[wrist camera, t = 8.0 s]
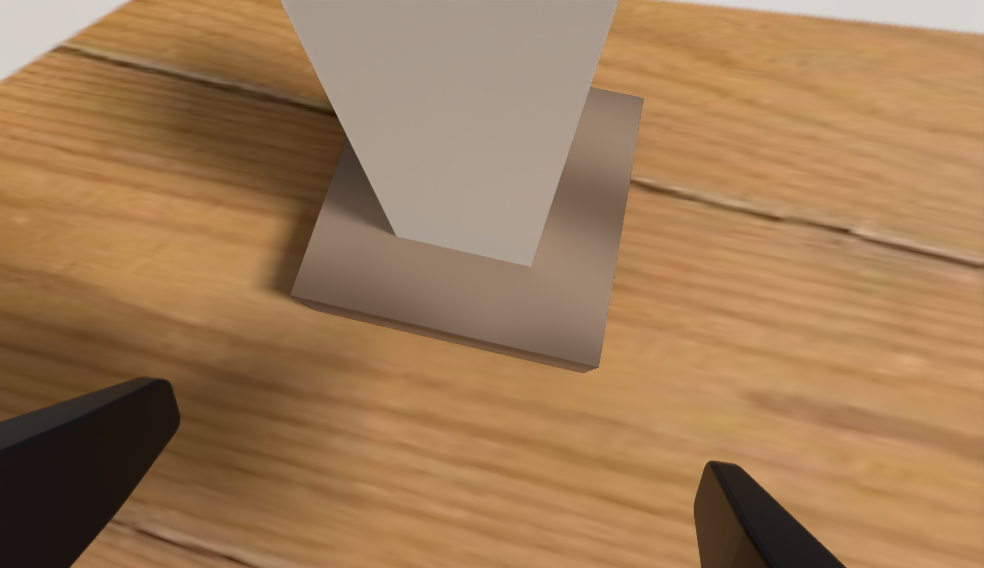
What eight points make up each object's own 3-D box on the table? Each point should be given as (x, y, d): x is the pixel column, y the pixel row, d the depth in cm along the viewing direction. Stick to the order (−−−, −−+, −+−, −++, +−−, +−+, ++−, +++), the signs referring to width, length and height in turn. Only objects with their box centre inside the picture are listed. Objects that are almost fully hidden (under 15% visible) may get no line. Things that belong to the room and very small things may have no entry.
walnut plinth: (583, 373, 18) (598, 367, 16) (314, 310, 19) (290, 295, 16) (625, 133, 21) (643, 97, 19) (391, 84, 22) (380, 43, 19)
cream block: (530, 266, 17) (672, -164, 4) (396, 236, 17) (152, -259, 4) (556, 147, 18) (724, -453, 6) (431, 120, 18) (321, -517, 6)
